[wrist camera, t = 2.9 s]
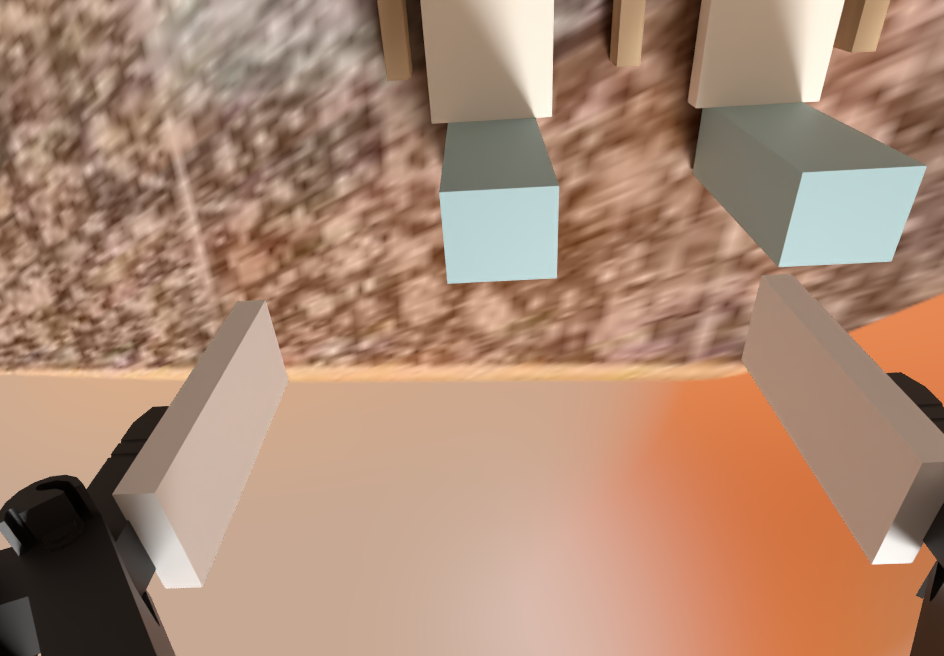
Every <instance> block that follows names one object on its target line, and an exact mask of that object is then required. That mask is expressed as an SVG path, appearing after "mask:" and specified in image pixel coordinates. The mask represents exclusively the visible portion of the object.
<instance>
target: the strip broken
mask: <svg viewBox="0 0 944 656" xmlns="http://www.w3.org/2000/svg"><path fill="white" fill-rule="evenodd" d="M844 1H845V0H702V2H701V9H700V16H699V23H698V31H697V38H696V45H695V52H694V60H693V67H692V74H691V81H690V89H689V96H688V103H689V104H691V105H692V106H693V107H695V108H703V109H702V116H701V123H700V129H699V136H698V142H697V149H696V155H695V162H694V168H693V175H694V176H695V177H696V178H697V179H698V180H699V181H700V182H701V183H702V185H703V186H704V187H705V188H706V189H707V190H708V191H709V192H710V193H711V194H712V195H713V197H714V198H715V199H716V200H717V201H718V202H719V203H720V204H721V205H722V206H723V207H724V208H725V210H726V211H727V212H728V213H729V214H730V215H731V216H732V217H733V218H734V219H735V220H736V221H737V223H738V224H739V225H740V226H741V227H742V228H743V229H744V230H745V231H746V232H747V233H748V234H749V236H750V237H751V238H752V239H753V240H754V241H755V242H756V243H757V244H758V245H759V246H760V247H761V249H762V250H763V251H764V252H765V253H766V254H767V255H768V256H769V257H770V258H771V259H772V261H773V262H774V263H775V264H776V265H777V266H778V267H789V266H809V265H829V264H849V263H869V262H889V261H892V258H893V256H894V253H895V250H896V247H897V245H898V242H899V239H900V237H901V234H902V231H903V229H904V226H905V223H906V221H907V218H908V215H909V213H910V210H911V207H912V205H913V202H914V199H915V196H916V194H917V191H918V188H919V186H920V183H921V180H922V178H923V175H924V172H925V170H926V167H927V166H926V165H924V164H923V163H921V162H919V161H917V160H915V159H913V158H911V157H909V156H907V155H905V154H903V153H901V152H899V151H897V150H895V149H893V148H891V147H889V146H887V145H885V144H883V143H881V142H879V141H877V140H875V139H873V138H871V137H869V136H868V135H866V134H864V133H862V132H860V131H858V130H856V129H854V128H852V127H850V126H848V125H846V124H844V123H842V122H840V121H838V120H836V119H834V118H832V117H830V116H828V115H826V114H824V113H822V112H820V111H818V110H816V109H815V108H813V107H811V106H809V105H807V104H805V103H803V102H814V101H819V100H820V96H821V92H822V88H823V84H824V80H825V76H826V72H827V68H828V64H829V60H830V56H831V52H832V49H833V45H834V41H835V37H836V33H837V29H838V25H839V21H840V17H841V13H842V9H843V5H844Z"/></svg>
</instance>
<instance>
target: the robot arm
mask: <svg viewBox="0 0 944 656" xmlns="http://www.w3.org/2000/svg"><path fill="white" fill-rule="evenodd" d="M741 361H742V362H743V364H744V365H745V367H746V368H747V370H748V372H749V373H750V375H751V376H752V378H753V379H754V381H755V382H756V384H757V386H758V387H759V389H760V390H761V392H762V393H763V395H764V397H765V398H766V400H767V401H768V403H769V404H770V406H771V407H772V409H773V411H774V412H775V414H776V415H777V417H778V418H779V420H780V422H781V423H782V425H783V426H784V428H785V429H786V431H787V433H788V434H789V436H790V437H791V439H792V440H793V442H794V443H795V445H796V447H797V448H798V450H799V451H800V453H801V454H802V456H803V458H804V459H805V461H806V462H807V464H808V465H809V467H810V469H811V470H812V472H813V473H814V475H815V476H816V478H817V480H818V481H819V483H820V484H821V486H822V487H823V489H824V491H825V492H826V494H827V495H828V497H829V498H830V500H831V501H832V503H833V505H834V506H835V508H836V509H837V511H838V512H839V514H840V515H841V517H842V519H843V520H844V522H845V523H846V525H847V527H848V528H849V530H850V531H851V533H852V534H853V536H854V537H855V539H856V541H857V542H858V544H859V545H860V547H861V548H862V550H863V552H864V553H865V555H866V556H867V558H868V559H869V561H870V563H871V564H894V563H912V562H913V560H914V559H915V557H916V555H917V553H918V551H919V550H920V548H921V546H922V544H923V543H925V544H926V545H927V547H928V548H929V550H930V551H931V552H932V554H933V555H934V556H935V558H936V559H937V561H936V562H935V564H934V566H933V567H932V569H931V571H930V573H929V574H928V576H927V578H926V579H925V581H924V583H923V584H922V586H921V588H920V589H919V591H918V593H917V594H916V596H918V597H920V598H924V599H923V603H922V608H921V612H920V616H919V620H918V624H917V628H916V632H915V637H914V641H913V645H912V650H911V653H910V656H944V407H943V406H942V403H941V402H940V401H939V400H938V399H937V398H936V397H935V396H934V395H933V394H932V393H931V392H930V391H929V390H928V389H927V388H926V387H925V386H923V385H922V384H920V383H918V382H916V381H915V380H913V379H911V378H909V377H908V376H906V375H905V374H903V373H901V372H899V373H885V372H884V371H883V370H882V369H881V368H880V367H879V365H878V364H877V363H876V362H875V361H874V360H873V359H872V358H871V357H870V356H869V355H868V354H867V353H866V352H865V351H864V350H863V349H862V348H861V347H860V346H859V345H858V343H856V342H855V340H854V339H853V338H852V337H851V336H850V335H849V334H848V333H847V332H846V331H845V330H844V329H843V328H842V327H841V326H840V325H839V323H838V322H837V321H836V320H835V319H834V318H833V317H832V316H831V315H830V314H829V313H828V312H827V311H826V310H825V309H824V308H823V307H822V306H821V305H820V304H819V302H818V301H817V300H816V299H815V298H814V297H813V296H812V295H811V294H810V293H809V292H808V291H807V290H806V289H805V288H804V287H803V286H802V285H801V284H800V283H799V281H798V280H797V279H796V278H795V277H794V276H793V275H792V274H780V275H762V276H761V280H760V284H759V288H758V293H757V297H756V301H755V305H754V309H753V314H752V318H751V322H750V326H749V331H748V335H747V339H746V343H745V348H744V352H743V356H742V360H741ZM288 381H289V380H288V377H287V373H286V370H285V366H284V363H283V359H282V356H281V352H280V349H279V346H278V342H277V339H276V335H275V332H274V328H273V325H272V321H271V318H270V314H269V311H268V307H267V304H266V300H256V301H237V303H236V304H235V306H234V307H233V309H232V310H231V312H230V313H229V315H228V317H227V318H226V320H225V321H224V323H223V324H222V326H221V327H220V329H219V330H218V332H217V333H216V335H215V337H214V338H213V340H212V341H211V343H210V344H209V346H208V347H207V349H206V350H205V352H204V354H203V355H202V357H201V358H200V360H199V361H198V363H197V364H196V366H195V367H194V369H193V370H192V372H191V374H190V375H189V377H188V378H187V380H186V381H185V383H184V384H183V386H182V388H181V389H180V391H179V392H178V394H177V395H176V397H175V398H174V400H173V401H172V403H171V404H170V406H162V407H152V408H151V409H150V410H148V411H147V412H146V413H145V414H143V415H142V416H141V417H140V418H138V419H137V420H136V421H135V422H133V424H132V425H131V427H130V428H129V429H128V431H127V433H126V434H125V435H124V437H123V438H122V439H121V443H119V444H118V445H117V447H116V448H115V449H114V451H113V452H112V454H111V458H108V459H107V461H106V462H105V464H104V465H103V466H102V468H101V469H100V471H99V472H98V474H97V475H96V476H95V478H94V479H93V481H92V482H91V484H90V485H89V487H88V488H87V489H86V488H85V487H84V485H83V484H82V482H81V481H80V480H79V479H78V478H77V477H73V476H68V475H60V476H52V477H49V478H46V479H43V480H40V481H37V482H35V483H33V484H31V485H29V486H28V487H26V488H24V489H22V490H20V491H19V492H18V493H16V494H15V495H14V496H13V497H12V498H11V499H10V500H8V501H7V502H6V503H5V505H4V506H3V507H2V509H1V510H0V532H1V533H2V534H3V536H4V537H5V538H6V539H7V541H8V542H9V543H10V545H11V546H12V547H10V548H7V549H3V550H0V656H38V654H39V653H41V656H175V653H174V651H173V649H172V646H171V644H170V641H169V639H168V637H167V634H166V632H165V629H164V627H163V625H162V622H161V620H160V618H159V615H158V613H157V611H156V608H155V606H154V603H153V601H152V599H151V597H150V595H149V593H148V592H147V590H146V588H147V586H148V584H149V582H150V580H151V578H152V576H153V574H154V572H155V571H156V573H157V575H158V576H159V578H160V580H161V582H162V584H163V585H164V587H165V588H190V587H191V588H193V587H203V586H204V583H205V581H206V578H207V576H208V573H209V571H210V569H211V566H212V564H213V562H214V559H215V557H216V554H217V552H218V550H219V547H220V545H221V542H222V540H223V537H224V535H225V533H226V530H227V528H228V526H229V523H230V521H231V518H232V516H233V513H234V511H235V509H236V506H237V504H238V501H239V499H240V497H241V494H242V492H243V489H244V487H245V485H246V482H247V480H248V477H249V475H250V473H251V470H252V468H253V465H254V463H255V460H256V458H257V456H258V453H259V451H260V448H261V446H262V444H263V441H264V439H265V437H266V434H267V432H268V429H269V427H270V425H271V422H272V420H273V417H274V415H275V413H276V410H277V408H278V405H279V403H280V400H281V398H282V396H283V393H284V391H285V388H286V386H287V384H288Z"/></svg>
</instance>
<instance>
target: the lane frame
mask: <svg viewBox="0 0 944 656" xmlns="http://www.w3.org/2000/svg"><path fill="white" fill-rule="evenodd" d="M377 3H378V11H379V19H380V27H381V35H382V42H383V50H384V58H385V66H386V74H387V81H390V80H407V79H410V78H411V76H412V73H413V67H412V57H411V48H410V38H409V29H408V19H407V9H406V0H377ZM889 3H890V0H845V1H844V5H843V9H842V13H841V17H840V21H839V25H838V29H837V33H836V37H835V41H834V45H833V47H835V48H838V49H842V50H845V51H848V52H851V53H853V52H870V51H876V47H877V44H878V40H879V37H880V33H881V30H882V27H883V23H884V20H885V16H886V13H887V10H888V6H889ZM645 6H646V0H614V1H613V16H612V31H611V46H610V61H611V62H612V63H613V64H614V65H615V66H616V67H622V66H638V65H640V60H641V49H642V38H643V27H644V16H645Z"/></svg>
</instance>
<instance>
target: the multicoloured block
mask: <svg viewBox="0 0 944 656" xmlns="http://www.w3.org/2000/svg"><path fill="white" fill-rule="evenodd" d="M420 2H421V13H422V24H423V35H424V46H425V57H426V68H427V79H428V89H429V100H430V111H431V122H432V124H436V123H448V126H447V134H446V143H445V151H444V159H443V167H442V175H441V183H440V191H439V194H440V205H441V216H442V227H443V238H444V249H445V260H446V271H447V282H448V283H468V282H489V281H509V280H529V279H549V278H557V246H558V207H559V184H558V181H557V179H556V176H555V173H554V170H553V167H552V164H551V161H550V158H549V156H548V153H547V150H546V147H545V144H544V141H543V138H542V135H541V133H540V130H539V127H538V124H537V121H536V118H539V117H552V75H553V17H554V0H420Z"/></svg>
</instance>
